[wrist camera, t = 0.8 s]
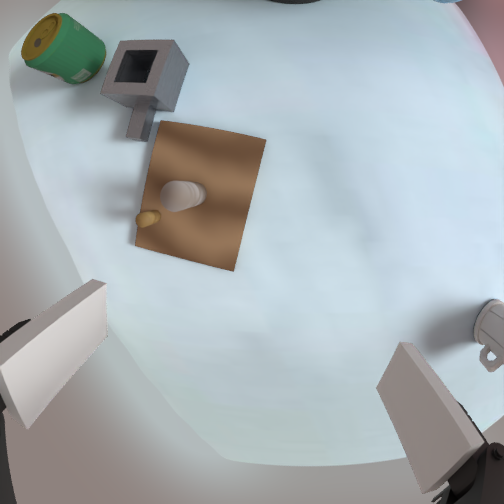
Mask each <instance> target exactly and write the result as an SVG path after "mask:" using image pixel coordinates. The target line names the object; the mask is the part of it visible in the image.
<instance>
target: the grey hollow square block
mask: <svg viewBox="0 0 504 504" xmlns="http://www.w3.org/2000/svg"><path fill="white" fill-rule="evenodd" d="M188 66H189V63H188V61H187V59H186V58H185V56H184V55H183V53H182V51H181V50H180V48H179V47H178V45H177V44H176V42H175V41H174V40H128V41H120V43H119V45H118V47H117V50H116V52H115V54H114V57H113V59H112V62H111V64H110V67H109V70H108V72H107V75H106V78H105V81H104V84H103V87H102V90H101V93H100V94H102V95H104V96H106V97H108V98H110V99H112V100H114V101H116V102H118V103H119V104H121V105H123V106H125V107H130V108H134V109H133V112H132V116H131V119H130V123H129V127H128V131H127V134H126V137H127V138H130V139H133V140H140V141H148V137H149V133H150V130H151V126H152V122H153V119H154V115H155V112H156V110H163V111H171V112H174V110H175V106H176V103H177V100H178V96H179V93H180V90H181V87H182V84H183V81H184V78H185V75H186V72H187V69H188ZM148 70H150V73H149V76H148V79H147V82H146V83H144V80H145V77H146V74H147V71H148Z"/></svg>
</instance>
